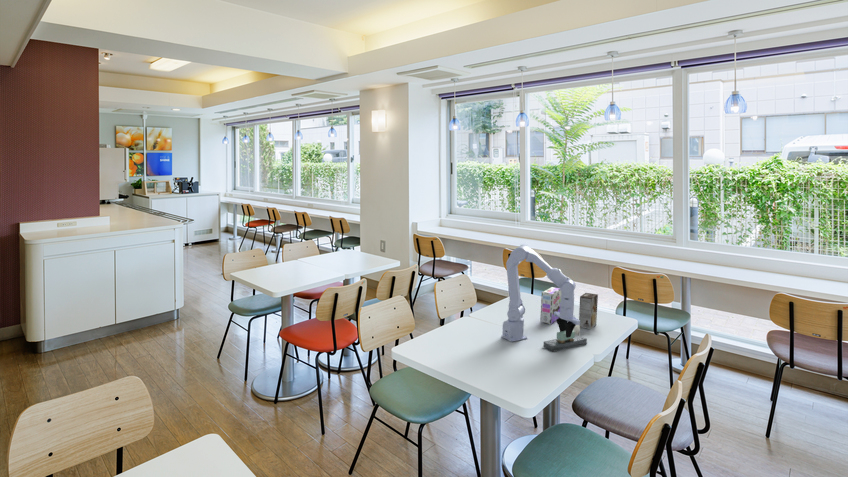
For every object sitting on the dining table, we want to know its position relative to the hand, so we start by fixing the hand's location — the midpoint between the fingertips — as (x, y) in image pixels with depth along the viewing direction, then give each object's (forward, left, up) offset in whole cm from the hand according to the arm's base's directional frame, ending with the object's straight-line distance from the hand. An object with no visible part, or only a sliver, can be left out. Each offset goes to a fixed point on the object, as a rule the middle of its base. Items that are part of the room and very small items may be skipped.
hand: (565, 335), depth 209 cm
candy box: (+18, +30, -5) cm, 35 cm away
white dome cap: (+13, +9, -5) cm, 16 cm away
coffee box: (+29, +15, -5) cm, 33 cm away
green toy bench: (0, 0, -4) cm, 4 cm away
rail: (0, 0, -5) cm, 5 cm away
